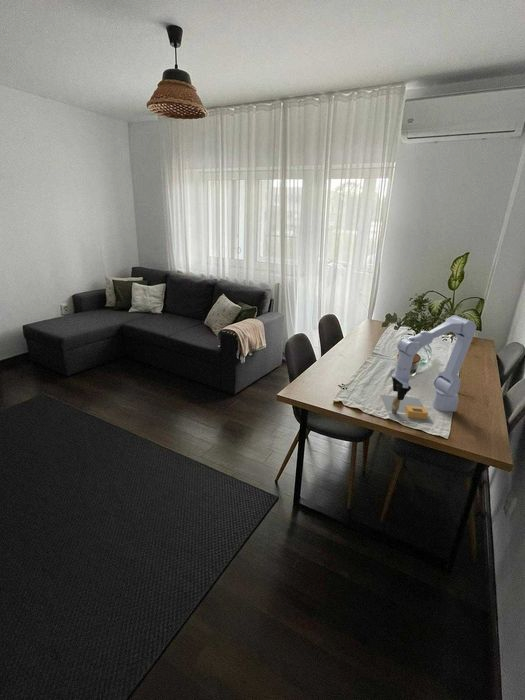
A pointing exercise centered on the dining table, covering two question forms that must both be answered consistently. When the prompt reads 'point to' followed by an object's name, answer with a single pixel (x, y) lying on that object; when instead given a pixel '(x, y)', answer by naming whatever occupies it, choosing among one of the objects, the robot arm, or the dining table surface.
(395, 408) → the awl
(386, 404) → the floor panel
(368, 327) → the dining table surface
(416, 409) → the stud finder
